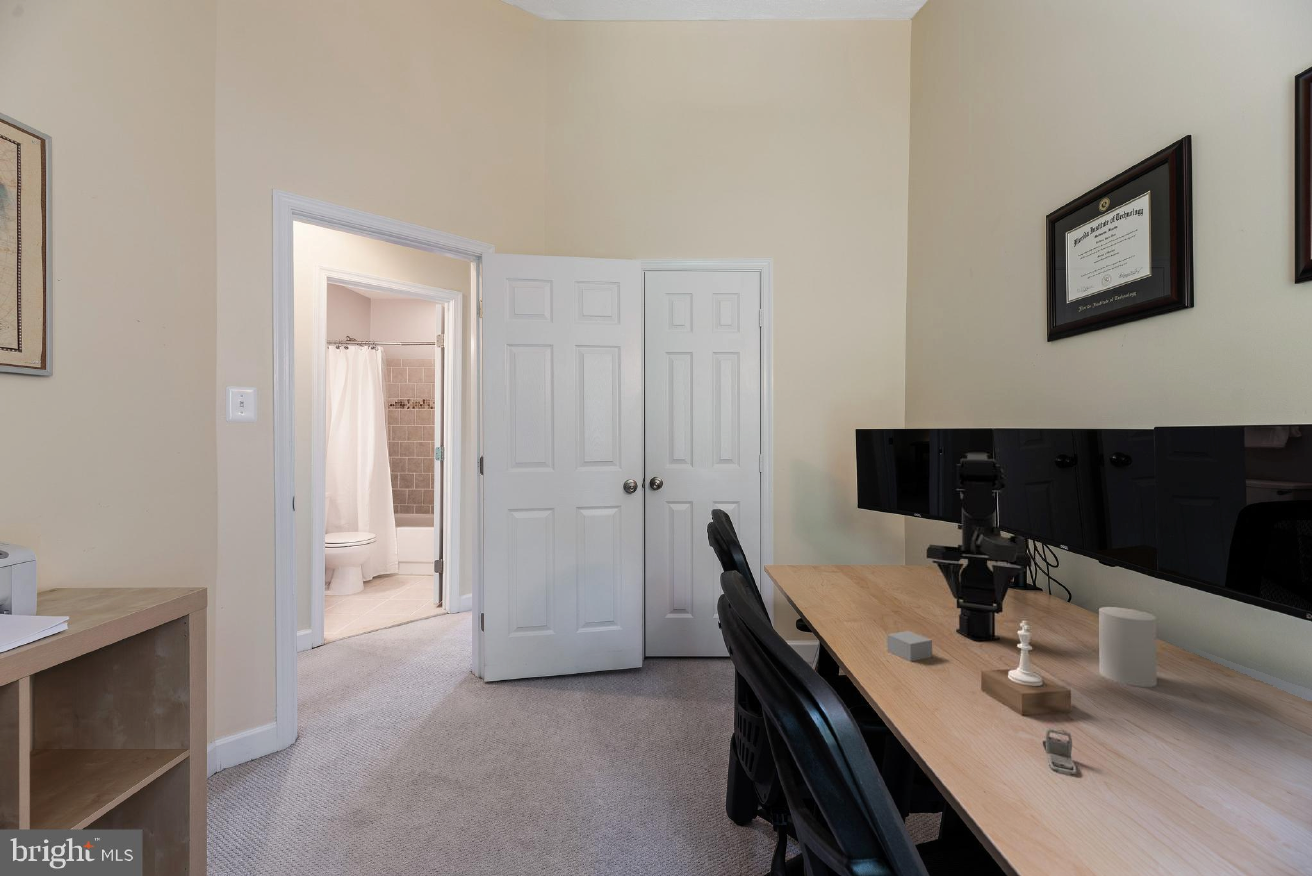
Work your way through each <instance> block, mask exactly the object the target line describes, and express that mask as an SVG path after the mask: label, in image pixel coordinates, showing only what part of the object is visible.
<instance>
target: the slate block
mask: <svg viewBox="0 0 1312 876" xmlns="http://www.w3.org/2000/svg"><path fill="white" fill-rule="evenodd" d="M886 639H887V640H886V641H887V642H886V643H887V646H886V647H887V652H889V653H891V654H893V655H895V656H898V657H900V658H902V659H905V660H907V661H909V662H915V661H920V660H924V659H929V658H933V639H931V638H929V637H925V636H923V635H920V634H918V633H915V632H912V631H910V630H906V631H900V632H899V631H898V632H894V633H888V634H887V638H886Z"/></svg>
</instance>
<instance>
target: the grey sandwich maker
mask: <svg viewBox="0 0 1312 876" xmlns="http://www.w3.org/2000/svg"><path fill="white" fill-rule="evenodd" d="M1045 732H1046V733H1045V740H1043V741H1042V747H1043V749H1044V751H1046V752H1045V753H1046V754H1047V763H1049V764H1048V767H1049V770H1051V771H1052V772H1054V773H1057V772H1058V774H1061V775H1065V774H1066V775H1065V776H1069V775H1070V777H1077V774H1078V772H1077V771H1078V770H1077V767H1076V764H1075V763H1074V761H1073V759H1072V758H1071V757H1072V749H1073V739H1072V735H1071V733H1070V732H1068V731H1065V729H1059V728H1054V727H1052V728H1047V729H1046V731H1045ZM1053 733H1054V734H1057V735H1062V736H1067V737H1068V740H1066V739H1062V738H1057V737H1052V736H1050V734H1053Z"/></svg>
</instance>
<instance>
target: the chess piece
mask: <svg viewBox="0 0 1312 876" xmlns="http://www.w3.org/2000/svg"><path fill="white" fill-rule="evenodd" d="M1019 627H1022V629H1020V630H1018V631H1017V635H1018V637H1019V640H1020V643H1017V645H1016V647H1017V648H1019V649H1021V651H1020V658H1019V659H1020V660H1019V664H1018V667H1016V669H1017V670H1011V671H1009V672H1008V674H1009V675H1008V678H1009V679H1010V680H1012V681H1014V682H1016V683H1019V684H1023V685H1028V686H1040V685H1042V678H1041V677H1040V676H1039V675H1040V674H1039V675H1037V674H1038V673H1037V674H1035V673H1036V672H1035V673H1033V672H1034V670H1032V669H1031V663H1030V656H1029V651H1031V650H1033V647H1032V645H1030V644H1029V643H1030V639H1031V638H1032V635H1033V634H1032V633H1031V632H1030V631H1028V630H1029V629H1030V626H1029V625H1028V624H1027V620H1022V621H1021V622H1020V623H1019Z"/></svg>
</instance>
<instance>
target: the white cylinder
mask: <svg viewBox="0 0 1312 876" xmlns="http://www.w3.org/2000/svg"><path fill="white" fill-rule="evenodd" d="M1098 623H1099V624H1098V625H1099V627H1098V628H1099V629H1098V632H1099V633H1098V634H1099V635H1098V641H1099V643H1098V645H1099V648H1098V649H1099V650H1098V651H1099V656H1098V657H1099V658H1098V659H1099V662H1098V663H1099V667H1098V668H1099V674H1100V675H1101V676H1103V677H1104V678H1106V679H1108V680H1111V681H1114V682H1116V683H1120V684H1124V685H1129V686H1133V687H1141V688H1143V687H1144V688H1151V687H1155V686H1157V617H1156V616H1154V615H1153V614H1151V613H1148V612H1145V611H1141V610H1137V609H1132V608H1126V607H1118V606H1117V607H1116V606H1115V607H1114V606H1105V607H1104V606H1103V607H1100V608H1099V609H1098Z"/></svg>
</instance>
